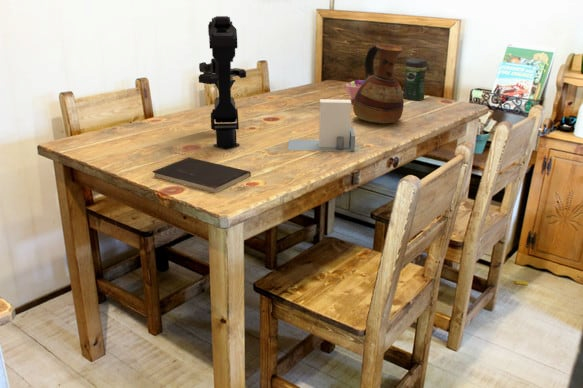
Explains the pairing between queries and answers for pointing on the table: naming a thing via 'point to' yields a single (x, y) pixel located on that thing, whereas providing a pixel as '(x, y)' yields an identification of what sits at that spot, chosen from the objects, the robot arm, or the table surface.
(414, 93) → the coffee jar
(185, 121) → the table surface
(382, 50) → the ceramic pitcher
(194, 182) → the hardcover book
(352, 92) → the cell model
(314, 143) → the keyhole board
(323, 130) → the panel
